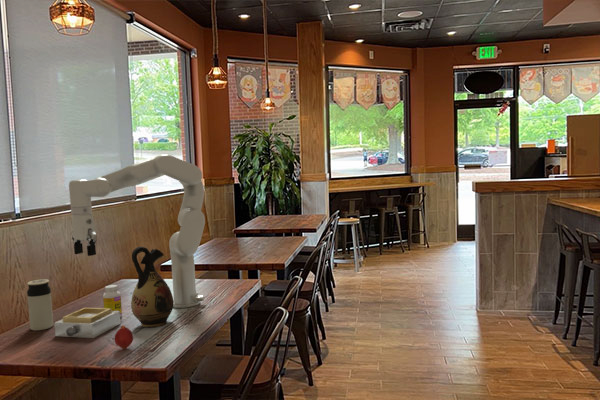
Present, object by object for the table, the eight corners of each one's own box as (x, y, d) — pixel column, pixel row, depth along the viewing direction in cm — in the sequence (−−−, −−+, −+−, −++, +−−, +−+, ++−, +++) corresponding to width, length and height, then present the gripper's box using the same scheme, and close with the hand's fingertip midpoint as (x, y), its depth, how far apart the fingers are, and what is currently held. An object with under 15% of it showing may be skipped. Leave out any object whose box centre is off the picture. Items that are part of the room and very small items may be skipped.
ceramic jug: (161, 315, 202) (157, 241, 200) (182, 322, 191) (177, 244, 189) (121, 325, 190) (115, 247, 188) (140, 334, 179) (134, 251, 177)
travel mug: (58, 324, 195) (54, 279, 194) (41, 331, 187) (37, 284, 186) (42, 323, 197) (38, 278, 196) (25, 330, 190) (21, 283, 189)
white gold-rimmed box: (120, 323, 193) (119, 307, 192) (89, 340, 175) (88, 321, 175) (84, 322, 197) (83, 306, 196) (51, 338, 179) (49, 320, 179)
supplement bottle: (116, 320, 198) (113, 288, 197) (101, 320, 199) (98, 288, 198) (125, 315, 204) (123, 284, 203) (110, 314, 205) (108, 284, 205)
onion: (118, 346, 168) (116, 323, 167) (135, 345, 168) (134, 321, 168) (113, 352, 162) (111, 328, 161) (131, 351, 162) (129, 327, 162)
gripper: (102, 210, 194) (106, 254, 195) (79, 209, 204) (82, 251, 206) (84, 212, 188) (87, 257, 189) (61, 211, 198) (65, 254, 200)
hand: (85, 254), depth 197 cm, fingers open, 9 cm apart
